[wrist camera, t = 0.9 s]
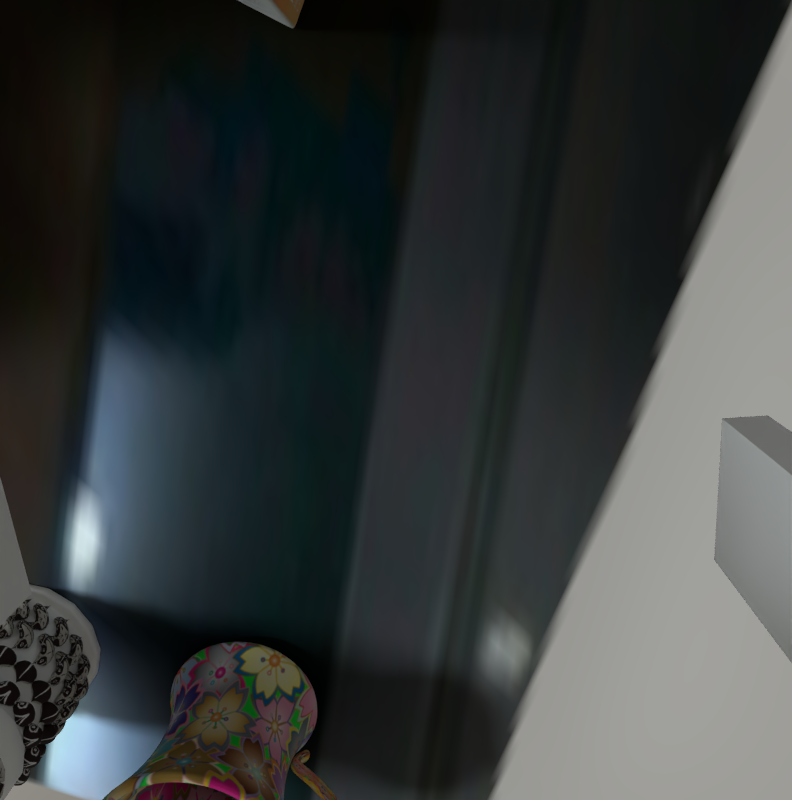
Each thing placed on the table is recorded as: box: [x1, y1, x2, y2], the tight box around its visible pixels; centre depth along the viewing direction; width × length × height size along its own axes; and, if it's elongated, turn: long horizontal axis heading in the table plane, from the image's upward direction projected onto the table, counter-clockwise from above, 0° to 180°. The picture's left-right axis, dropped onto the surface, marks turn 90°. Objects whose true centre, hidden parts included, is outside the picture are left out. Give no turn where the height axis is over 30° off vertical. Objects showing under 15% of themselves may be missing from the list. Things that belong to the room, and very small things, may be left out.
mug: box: [103, 642, 337, 800], centre depth 36 cm, size 12×9×11 cm
